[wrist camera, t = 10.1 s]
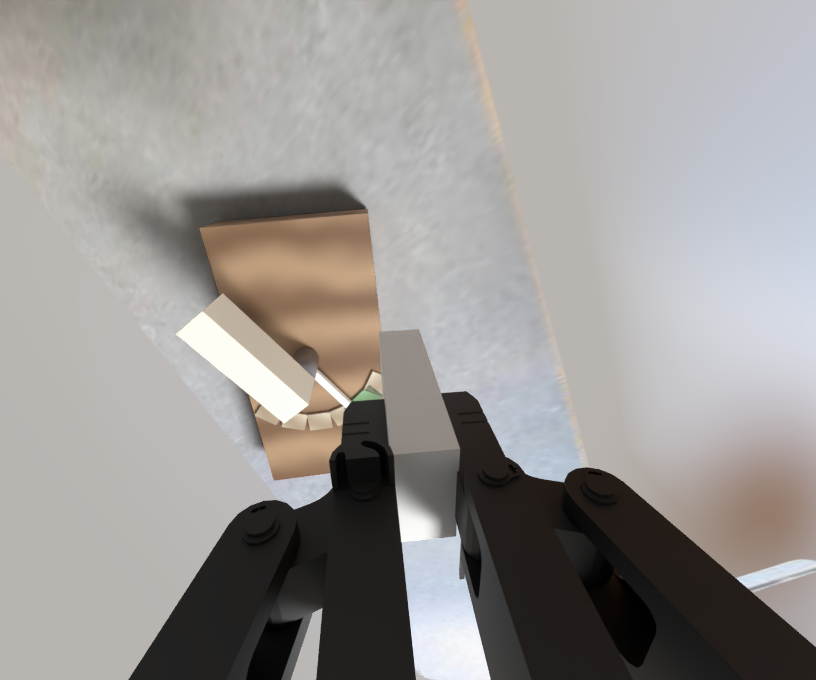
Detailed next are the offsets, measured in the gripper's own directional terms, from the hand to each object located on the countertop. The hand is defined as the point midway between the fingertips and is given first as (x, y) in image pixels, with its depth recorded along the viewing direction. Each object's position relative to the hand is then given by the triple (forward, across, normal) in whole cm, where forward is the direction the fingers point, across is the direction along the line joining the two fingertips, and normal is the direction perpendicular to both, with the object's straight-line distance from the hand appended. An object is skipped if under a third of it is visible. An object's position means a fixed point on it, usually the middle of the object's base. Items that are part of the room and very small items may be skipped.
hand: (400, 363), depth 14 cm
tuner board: (+25, -7, -11) cm, 28 cm away
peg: (+21, -8, -10) cm, 25 cm away
